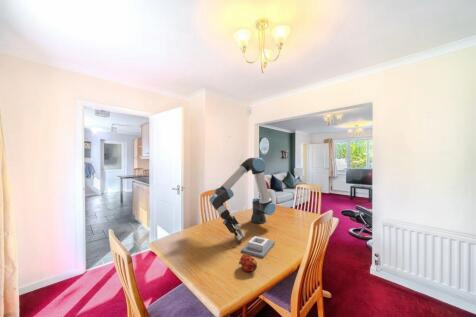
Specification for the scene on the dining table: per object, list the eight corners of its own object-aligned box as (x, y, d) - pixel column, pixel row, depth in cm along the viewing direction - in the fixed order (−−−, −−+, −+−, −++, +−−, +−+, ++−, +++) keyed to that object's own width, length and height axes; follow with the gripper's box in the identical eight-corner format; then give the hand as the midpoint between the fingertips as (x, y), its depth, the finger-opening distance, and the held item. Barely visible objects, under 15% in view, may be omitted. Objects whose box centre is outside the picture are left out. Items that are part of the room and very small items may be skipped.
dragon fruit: (240, 266, 110) (256, 278, 102) (233, 263, 105) (248, 276, 96) (247, 252, 113) (263, 263, 105) (240, 249, 107) (256, 260, 99)
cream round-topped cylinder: (236, 240, 141) (236, 223, 141) (241, 241, 139) (241, 224, 139) (233, 242, 137) (233, 225, 137) (238, 244, 135) (238, 226, 135)
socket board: (254, 239, 143) (254, 232, 143) (274, 243, 135) (274, 237, 135) (241, 251, 124) (241, 244, 124) (263, 258, 116) (263, 250, 116)
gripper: (226, 212, 153) (244, 236, 145) (214, 218, 138) (232, 245, 130) (232, 206, 151) (250, 230, 143) (219, 212, 136) (239, 239, 127)
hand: (242, 237), depth 136 cm, fingers closed on cream round-topped cylinder, 4 cm apart
